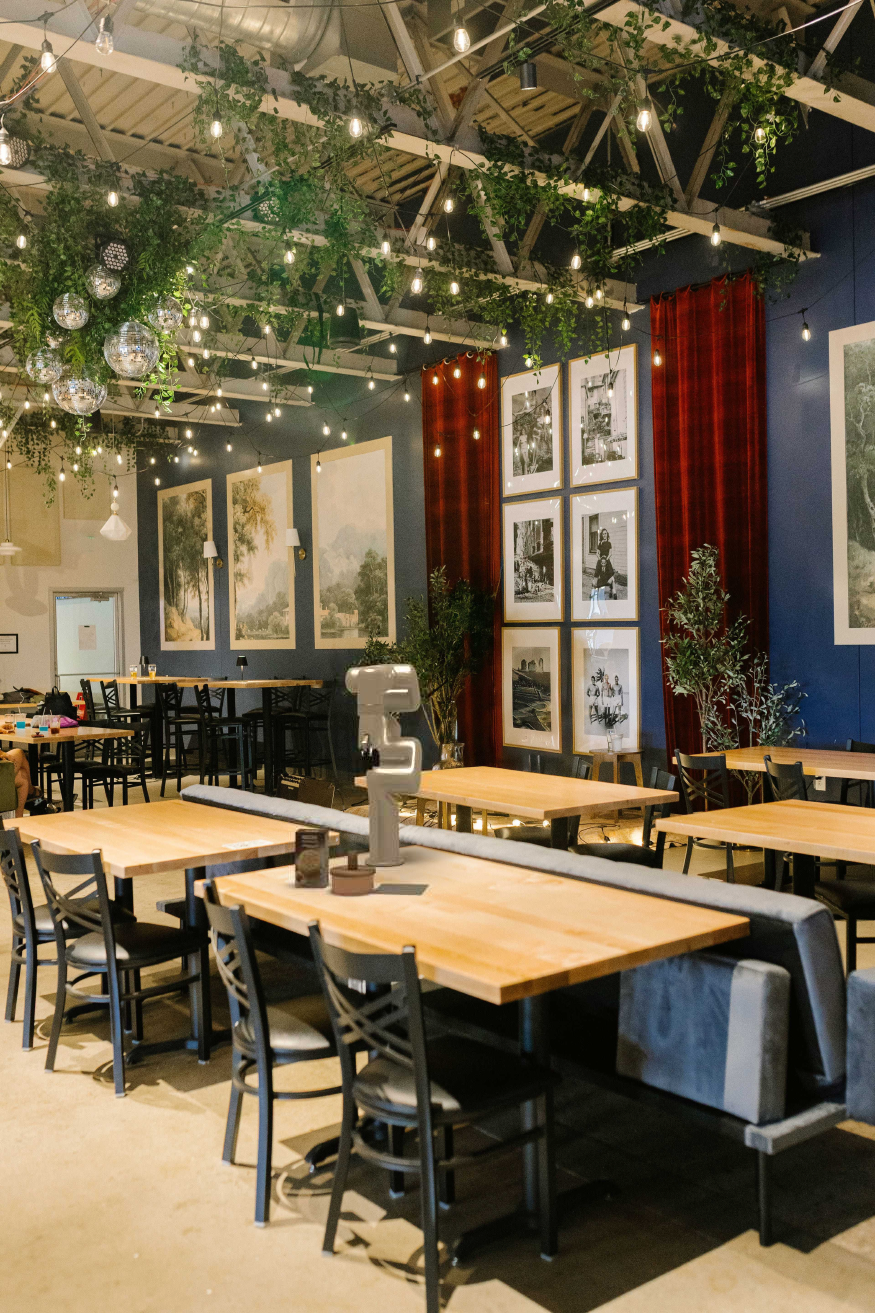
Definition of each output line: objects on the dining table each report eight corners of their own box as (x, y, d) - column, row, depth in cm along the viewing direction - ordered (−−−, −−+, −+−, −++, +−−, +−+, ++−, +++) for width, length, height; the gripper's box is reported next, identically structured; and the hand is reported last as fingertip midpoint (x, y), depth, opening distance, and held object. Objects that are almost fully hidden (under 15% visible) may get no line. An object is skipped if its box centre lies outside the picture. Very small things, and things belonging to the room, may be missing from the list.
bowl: (338, 888, 305) (338, 868, 305) (376, 888, 303) (376, 869, 303) (328, 896, 294) (328, 876, 294) (367, 897, 292) (367, 877, 292)
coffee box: (294, 887, 306) (293, 831, 306) (299, 883, 312) (298, 828, 312) (325, 888, 305) (324, 832, 305) (329, 883, 311) (329, 828, 311)
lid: (335, 868, 306) (335, 847, 306) (380, 868, 304) (379, 847, 304) (324, 877, 293) (324, 855, 293) (370, 878, 291) (370, 856, 291)
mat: (381, 885, 308) (381, 883, 308) (429, 886, 306) (429, 884, 306) (371, 895, 295) (371, 894, 295) (421, 896, 292) (421, 895, 292)
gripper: (364, 709, 323) (364, 765, 323) (351, 711, 306) (351, 771, 306) (388, 709, 322) (389, 765, 322) (376, 711, 305) (377, 771, 305)
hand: (370, 768), depth 314 cm, fingers open, 9 cm apart
